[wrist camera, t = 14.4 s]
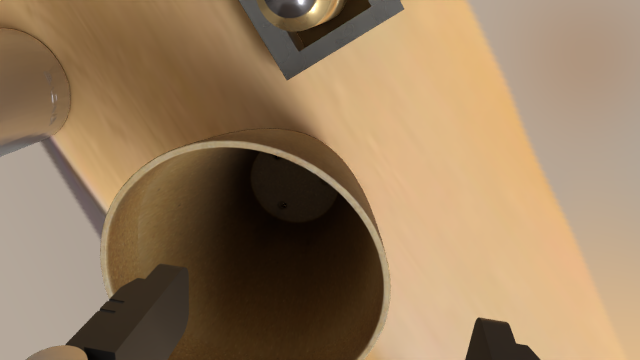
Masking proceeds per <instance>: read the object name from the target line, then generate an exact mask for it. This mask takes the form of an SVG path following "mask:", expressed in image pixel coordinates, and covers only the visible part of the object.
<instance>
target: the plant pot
mask: <svg viewBox="0 0 640 360" xmlns="http://www.w3.org/2000/svg"><path fill="white" fill-rule="evenodd" d="M274 155H276V156H278V159H276V158H275V157H274ZM284 203H285V204H286V207H285V208H283V207H282V205H283V204H284ZM100 260H101V269H102V276H103V281H104V285H105V289H106V292H107V295H108V297H109V299H110V298H111V297H112V296H113V295H114V294H115V293H116V292H117V290H118V289H119V288H120V287H122V286H124V285H125V284H127V283H129V282H131V281H133V280H135V279H136V278H142V279H146V277H147V276H148V275H149V274H150V273H151V272H152V271H153V270H154V269H155V267H156V266H157V265H158V264H161V263H162V264H168V265H173V266H179V267H185V268H187V269H188V273H189V317H188V323H187V326H186V329H185V332H184V334H183V336H182V337H181V339H180V341H179V342H178V344H177V345H176V347H175V348H174V350H173V352H172V353H171V355H170V356H169V358H168V359H167V360H364V359H365V358H366V357H367V356H368V354H369V353H370V351H371V350H372V348H373V347H374V345H375V344H376V342H377V340H378V338H379V336H380V334H381V332H382V330H383V328H384V325H385V322H386V318H387V314H388V309H389V303H390V291H391V284H390V273H389V266H388V262H387V258H386V254H385V250H384V246H383V243H382V239H381V236H380V233H379V230H378V227H377V224H376V221H375V218H374V215H373V213H372V210H371V207H370V205H369V202H368V200H367V198H366V196H365V194H364V192H363V190H362V188H361V186H360V184H359V183H358V181H357V179H356V177H355V176H354V174H353V173H352V172H351V170H350V169H349V167H348V166H347V165H346V164H345V162H344V161H343V160H342V159H341V158H340V157H339V156H338V155H337V153H335V152H334V151H333V150H332V149H331V148H330V147H328V146H327V145H326V144H324V143H323V142H321V141H319V140H317V139H315V138H313V137H311V136H309V135H306V134H303V133H300V132H296V131H290V130H284V129H252V130H244V131H237V132H232V133H227V134H223V135H219V136H215V137H212V138H208V139H205V140H201V141H198V142H194V143H191V144H188V145H185V146H182V147H179V148H177V149H174V150H171V151H169V152H167V153H164V154H162V155H160V156H158V157H157V158H155V159H153V160H152V161H150V162H149V163H147V164H146V165H144V166H143V167H142V168H140V169H139V170H138V171H137V172H136V173H135V174H134V175H133V176H132V177H131V178H130V179H129V180H128V181H127V182H126V183H125V184H124V185H123V187H122V188H121V189H120V191H119V192H118V194H117V195H116V197H115V198H114V200H113V202H112V204H111V206H110V208H109V211H108V213H107V216H106V219H105V222H104V225H103V231H102V236H101V248H100Z"/></svg>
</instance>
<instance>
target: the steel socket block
mask: <svg viewBox="0 0 640 360" xmlns="http://www.w3.org/2000/svg"><path fill="white" fill-rule="evenodd" d="M368 1H369V3H370V5H371V7H370V8H368V9H367V10H365V11H364V12H362V13H360V14H359V15H357V16H356V17H354V18H352V19H351V20H349V21H348V22H346V23H344V24H343V25H341V26H340V27H338V28H336V29H335V30H333V31H332V32H330V33H328V34H327V35H325V36H324V37H322V38H320V39H319V40H317V41H316V42H314V43H312V44H311V45H309V46H308V47H306V48H305V46H304V44H303V42H302V41H301V39H300V37H299V36H298V34H297V32H292V31H286V30H282V29H280V28H278V27H276V26H274V25H273V24H271V23H270V22H269V21H268V20H267V19H266V18H265V17H264V15H263V14H262V12H261V11H260V9H259V6H258V4H257V1H256V0H239V2H240V3H241V5H242V7H243V8H244V10H245V12H246V13H247V15H248V17H249V18H250V20H251V22H252V23H253V25H254V27H255V28H256V30H257V32H258V33H259V35H260V37H261V38H262V40H263V41H264V43H265V45H266V46H267V48H268V50H269V51H270V53H271V55H272V56H273V58H274V60H275V61H276V63H277V65H278V66H279V68H280V70H281V71H282V73H283V75H284V76H285V78H286V80H289V79H290V78H292V77H294V76H295V75H297V74H298V73H300V72H302V71H303V70H305V69H307V68H308V67H310V66H312V65H313V64H315V63H317V62H318V61H320V60H321V59H323V58H325V57H326V56H328V55H330V54H331V53H333V52H335V51H336V50H338V49H340V48H341V47H343V46H345V45H346V44H348V43H349V42H351V41H353V40H354V39H356V38H358V37H359V36H361V35H363V34H364V33H366V32H368V31H369V30H371V29H372V28H374V27H376V26H377V25H379V24H381V23H382V22H384V21H386V20H387V19H389V18H391V17H392V16H394V15H395V14H397V13H399V12H400V11H402V10H404V8H403V6H402V4H401V2H400V0H368Z"/></svg>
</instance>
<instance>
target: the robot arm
mask: <svg viewBox="0 0 640 360" xmlns="http://www.w3.org/2000/svg"><path fill="white" fill-rule="evenodd" d="M69 109H70V90H69V85H68V81H67V78H66V76H65V73H64V71H63V69H62V67H61V65H60V64H59V62H58V60H57V59H56V57H55V56H54V55H53V54H52V53H51V51H50V50H49V49H48V48H47V47H46V46H44V45H43V44H42V43H41V42H40V41H39V40H37V39H35V38H34V37H32V36H30V35H29V34H27V33H24V32H21V31H18V30H15V29H7V28H0V157H1V156H3V155H6V154H8V153H11V152H14V151H16V150H19V149H21V148H24V147H26V146H28V145H31V144H34V143H36V142H39V141H42V140H44V139H47V138H49V137H50V136H52V135H54V134H55V133H57V132H58V130H59V129H60V128H61V127H62V126H63V124H64V123H65V121H66V119H67V117H68V113H69ZM188 317H189V273H188V269H187V268H185V267H179V266H173V265H168V264H162V263H161V264H158V265H157V266H156V267H155V269H154V270H153V271H152V272H151V273H150V274H149V275H148V276H147V277H146V279H142V278H136V279H135V280H133V281H131V282H129V283H127V284H125V285H124V286H122V287H120V288H119V289H118V290H117V292H116V293H115V294H114V295H113V296H112V297H111V298H110V299H109V301H107V302H106V303H105V304H104V305H103V306H102V307H101V308H100V311H98V312H96V313H95V314H94V316H92V318H91V319H90V320H89V321H88V322H87V323H86V324H85V325H84V326H83V327H82V328H81V329H80V330H79V331H78V332H77V333H76V334H75V335H74V336H73V337H72V338H71V339H70V340H69V341H68V342H67V343H66V345H62V346H55V347H50V348H47V349H44V350H41V351H39V352H37V353H35V354H33V355H31V356H30V357H28V358H27V359H26V360H167V359H168V358H169V356H170V355H171V353H172V352H173V350H174V348H175V347H176V345H177V344H178V342H179V341H180V339H181V337H182V336H183V334H184V332H185V329H186V326H187V323H188ZM465 360H540V359H539V358H538V356H537V355H536V354H535V353H534V352H533V351H532V350H531V349H530V348H529V346H527V345H521V344H516V342H515V339H514V336H513V334H512V331H511V328H510V325H509V324H508V323H507V322H503V321H497V320H491V319H485V318H477V320H476V322H475V325H474V329H473V333H472V336H471V340H470V344H469V348H468V352H467V355H466V359H465Z"/></svg>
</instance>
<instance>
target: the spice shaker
mask: <svg viewBox="0 0 640 360" xmlns="http://www.w3.org/2000/svg"><path fill="white" fill-rule="evenodd" d="M256 1H257V4H258V6H259V9H260V11H261V12H262V14H263V15H264V17H265V18H266V19H267V20H268V21H269V22H270V23H271V24H273V25H274V26H276V27H278V28H280V29H282V30H286V31H292V32H298V31H303V30H306V29H309V28H312V27H314V26H317V25H319V24H322V23H324V22H327V21H329V20H331V19H333V18H335V17H336V16H337V15H338V14H339V13H340V12H341V11H342V10H343V8H344V6H345V4H346V1H347V0H256Z"/></svg>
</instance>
